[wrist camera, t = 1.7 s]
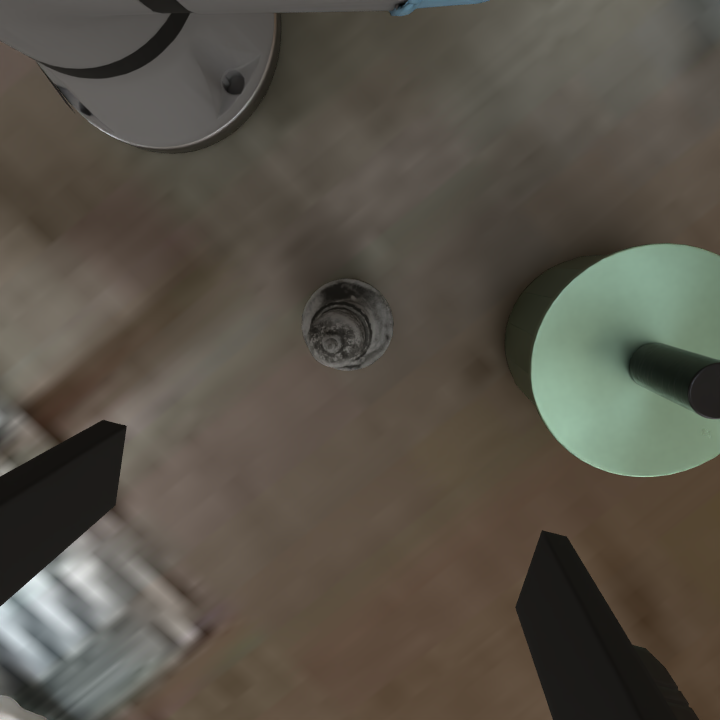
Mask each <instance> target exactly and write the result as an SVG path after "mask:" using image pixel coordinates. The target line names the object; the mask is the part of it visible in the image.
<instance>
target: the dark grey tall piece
mask: <svg viewBox="0 0 720 720" xmlns="http://www.w3.org/2000/svg"><path fill="white" fill-rule="evenodd" d="M302 332H303V337H304V340H305V342H306V344H307V346H308V348H309V350H310V352H311V354H312V356H313V357H314V358H315V359H316V360H317V361H318V362H320V363H321V364H323V365H325V366H328V367H332V368H335V369H338V370H347V371H351V370H357V369H362V368H364V367H366V366H369V365H371V364H373V363H374V362H375V361H376V360H378V359H379V358H380V357H381V356H382V355H383V353H384V352H385V351H386V349H387V348H388V346H389V343H390V341H391V338H392V335H393V317H392V312H391V309H390V307H389V305H388V303H387V301H386V299H385V298H384V297H383V296H382V295H381V293H380V292H379V291H378V290H377V289H375V288H374V287H372V286H371V285H369V284H368V283H365V282H362V281H359V280H356V279H340V280H335V281H331V282H329V283H327V284H325V285H323V286H321V287H320V288H319V289H318V290H317V291H316V292H314V293H313V294H312V296H311V297H310V299H309V300H308V302H307V303H306V305H305V308H304V312H303V315H302Z"/></svg>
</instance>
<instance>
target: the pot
mask: <svg viewBox="0 0 720 720" xmlns="http://www.w3.org/2000/svg"><path fill="white" fill-rule="evenodd" d="M605 256H607V255H596V256H582V257H579V258H576V259H573V260H570V261H566V262H563V263H561V264H559V265H557V266H554V267H552V268H550V269H548V270H547V271H546V272H544V273H543V274H541V275H540V276H539V277H537V278H536V279H535V280H534V281H533V282H532V283H531V284H530V285H529V286H528V287H527V288H526V289H525V290H524V292H523V293H522V294H521V295H520V297H519V298H518V300H517V302H516V303H515V305H514V307H513V309H512V312H511V314H510V316H509V320H508V323H507V327H506V334H505V354H506V359H507V363H508V367H509V369H510V372H511V374H512V376H513V378H514V381H515V383H516V385H517V386H518V387H519V388H520V389H521V391H522V392H523V393H524V394H525V395H526V396H527V397H528V398H529V399H530V400H531V401H532V402H533V404H534V401H533V397H532V393H531V389H530V382H529V355H530V349H531V344H532V340H533V337H534V333H535V330H536V328H537V325H538V323H539V321H540V319H541V316H542V314H543V313H544V311H545V310H546V308H547V306H548V305H549V303H550V301H551V300H552V299H553V298H554V296H555V295H556V294H557V293H558V291H559V290H560V289H561V288H562V287H563V286H564V285H565V284H566V283H567V282H568V281H569V280H570V279H571V278H572V277H573V276H575V275H576V274H577V273H578V272H580V271H581V270H582V269H584V268H585V267H587V266H588V265H590V264H592V263H593V262H595V261H597V260H598V259H600V258H602V257H605ZM534 405H535V404H534Z"/></svg>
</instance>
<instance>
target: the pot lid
mask: <svg viewBox="0 0 720 720" xmlns="http://www.w3.org/2000/svg"><path fill="white" fill-rule="evenodd" d="M529 382H530V389H531V393H532V397H533V401H534V404H535V406H536V409H537V411H538V413H539V416H540V417H541V419H542V421H543V422H544V424H545V426H546V427H547V429H548V430H549V431H550V432H551V434H552V435H553V436H554V437H555V439H556V440H557V441H558V442H559V443H560V444H561V445H562V446H563V447H565V448H566V449H567V450H568V451H569V452H570V453H572V454H573V455H574V456H576V457H577V458H579V459H580V460H582V461H584V462H586V463H588V464H590V465H591V466H593V467H596V468H599V469H601V470H604V471H607V472H611V473H615V474H619V475H625V476H634V477H655V476H663V475H670V474H674V473H678V472H682V471H685V470H688V469H691V468H693V467H696V466H699V465H701V464H703V463H705V462H707V461H709V460H711V459H713V458H714V457H716V456H717V455H719V454H720V256H719V255H718V254H715V253H713V252H710V251H707V250H705V249H702V248H698V247H693V246H689V245H684V244H672V243H661V244H646V245H640V246H634V247H630V248H626V249H623V250H620V251H616V252H614V253H611V254H609V255H607V256H605V257H602V258H600V259H598V260H597V261H595V262H593V263H592V264H590V265H588V266H587V267H585V268H584V269H582V270H581V271H580V272H578V273H577V274H576V275H575V276H573V277H572V278H571V279H570V280H569V281H568V282H567V283H566V284H565V285H564V286H563V287H562V288H561V289H560V290H559V291H558V293H557V294H556V295H555V296H554V298H553V299H552V300H551V301H550V303H549V305H548V306H547V308H546V310H545V311H544V313H543V314H542V316H541V319H540V321H539V323H538V325H537V328H536V330H535V333H534V337H533V340H532V344H531V349H530V355H529Z"/></svg>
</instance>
